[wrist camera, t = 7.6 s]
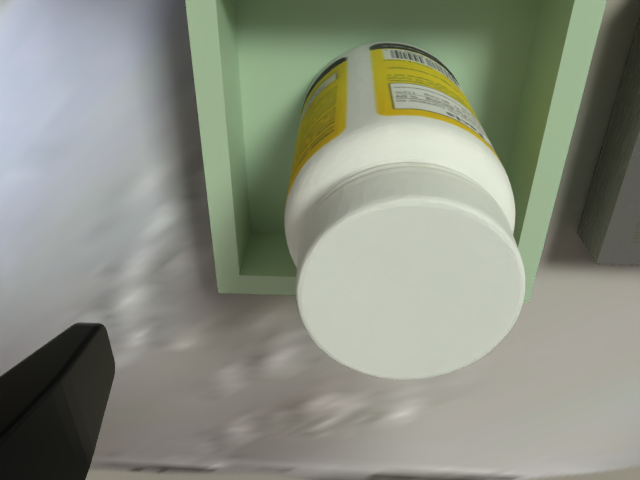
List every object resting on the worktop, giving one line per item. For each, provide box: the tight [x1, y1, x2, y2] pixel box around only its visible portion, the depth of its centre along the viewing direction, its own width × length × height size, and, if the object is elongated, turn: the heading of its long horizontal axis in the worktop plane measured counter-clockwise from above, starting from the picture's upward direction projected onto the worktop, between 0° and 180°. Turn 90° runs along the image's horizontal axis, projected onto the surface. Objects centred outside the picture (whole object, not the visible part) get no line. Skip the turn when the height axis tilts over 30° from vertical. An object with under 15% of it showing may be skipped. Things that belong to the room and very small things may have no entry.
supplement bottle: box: [284, 41, 525, 380], centre depth 14 cm, size 5×5×8 cm
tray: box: [185, 0, 607, 303], centre depth 16 cm, size 9×9×3 cm
